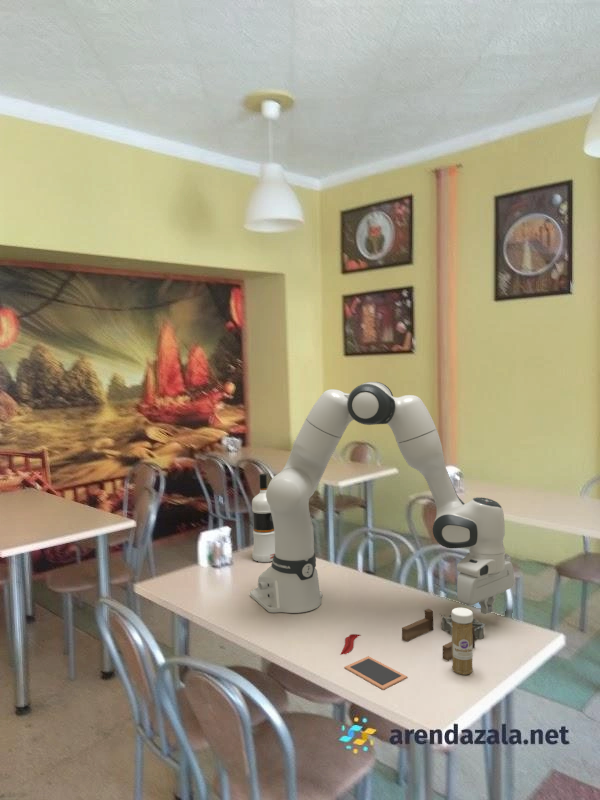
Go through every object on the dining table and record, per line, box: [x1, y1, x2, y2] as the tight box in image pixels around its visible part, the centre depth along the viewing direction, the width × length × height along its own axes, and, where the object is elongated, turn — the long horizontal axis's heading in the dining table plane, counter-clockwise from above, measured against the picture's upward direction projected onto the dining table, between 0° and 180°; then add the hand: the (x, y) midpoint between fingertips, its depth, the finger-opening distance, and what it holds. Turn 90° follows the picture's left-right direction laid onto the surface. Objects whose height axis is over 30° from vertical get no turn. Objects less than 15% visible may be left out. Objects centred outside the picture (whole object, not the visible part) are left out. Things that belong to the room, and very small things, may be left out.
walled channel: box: [401, 608, 476, 662], centre depth 148 cm, size 14×10×5 cm
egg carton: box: [438, 613, 487, 640], centre depth 153 cm, size 11×8×4 cm
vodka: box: [251, 473, 275, 563], centre depth 213 cm, size 9×9×30 cm
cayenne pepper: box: [339, 634, 362, 656], centre depth 148 cm, size 12×5×2 cm, turn 142°
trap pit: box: [344, 655, 408, 691], centre depth 135 cm, size 12×8×1 cm, turn 38°
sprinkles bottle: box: [451, 607, 474, 676], centre depth 134 cm, size 5×5×13 cm
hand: (487, 612), depth 160 cm, fingers closed
